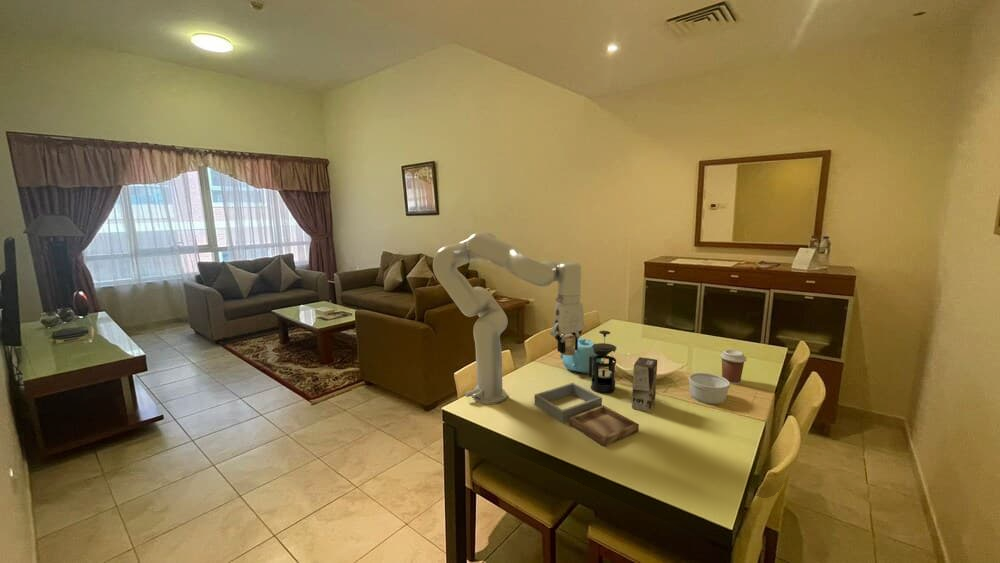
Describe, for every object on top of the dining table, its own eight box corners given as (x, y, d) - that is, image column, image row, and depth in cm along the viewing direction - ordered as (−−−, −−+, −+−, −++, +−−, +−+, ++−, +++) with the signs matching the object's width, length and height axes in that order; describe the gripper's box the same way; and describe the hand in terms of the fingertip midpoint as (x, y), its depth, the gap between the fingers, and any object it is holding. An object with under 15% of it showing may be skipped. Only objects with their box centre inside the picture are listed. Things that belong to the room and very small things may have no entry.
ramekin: (726, 393, 151) (728, 375, 150) (729, 409, 139) (731, 390, 138) (687, 387, 157) (688, 370, 155) (687, 402, 145) (688, 383, 144)
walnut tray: (604, 447, 119) (604, 439, 118) (569, 424, 131) (569, 417, 131) (638, 431, 126) (638, 424, 126) (602, 411, 139) (603, 405, 138)
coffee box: (650, 412, 138) (652, 368, 135) (631, 408, 141) (632, 364, 138) (655, 402, 145) (658, 359, 142) (637, 397, 149) (639, 356, 146)
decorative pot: (593, 360, 185) (594, 332, 183) (606, 374, 170) (607, 343, 167) (558, 362, 184) (559, 334, 182) (568, 377, 168) (568, 345, 166)
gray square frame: (562, 423, 132) (562, 411, 131) (534, 405, 145) (534, 394, 144) (601, 408, 141) (602, 397, 141) (572, 392, 154) (572, 382, 153)
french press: (622, 389, 155) (624, 332, 151) (607, 396, 150) (608, 337, 146) (597, 380, 165) (598, 325, 161) (582, 386, 159) (583, 330, 155)
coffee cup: (719, 383, 159) (722, 354, 157) (717, 375, 167) (719, 347, 165) (746, 387, 156) (749, 357, 153) (742, 378, 164) (744, 349, 162)
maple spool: (566, 356, 136) (567, 339, 135) (557, 352, 140) (557, 335, 139) (578, 353, 139) (578, 336, 138) (568, 349, 143) (568, 333, 142)
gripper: (556, 304, 129) (555, 358, 132) (595, 298, 137) (593, 349, 141) (541, 300, 135) (541, 352, 138) (580, 294, 144) (578, 343, 147)
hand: (567, 350), depth 139 cm, fingers closed on maple spool, 4 cm apart
